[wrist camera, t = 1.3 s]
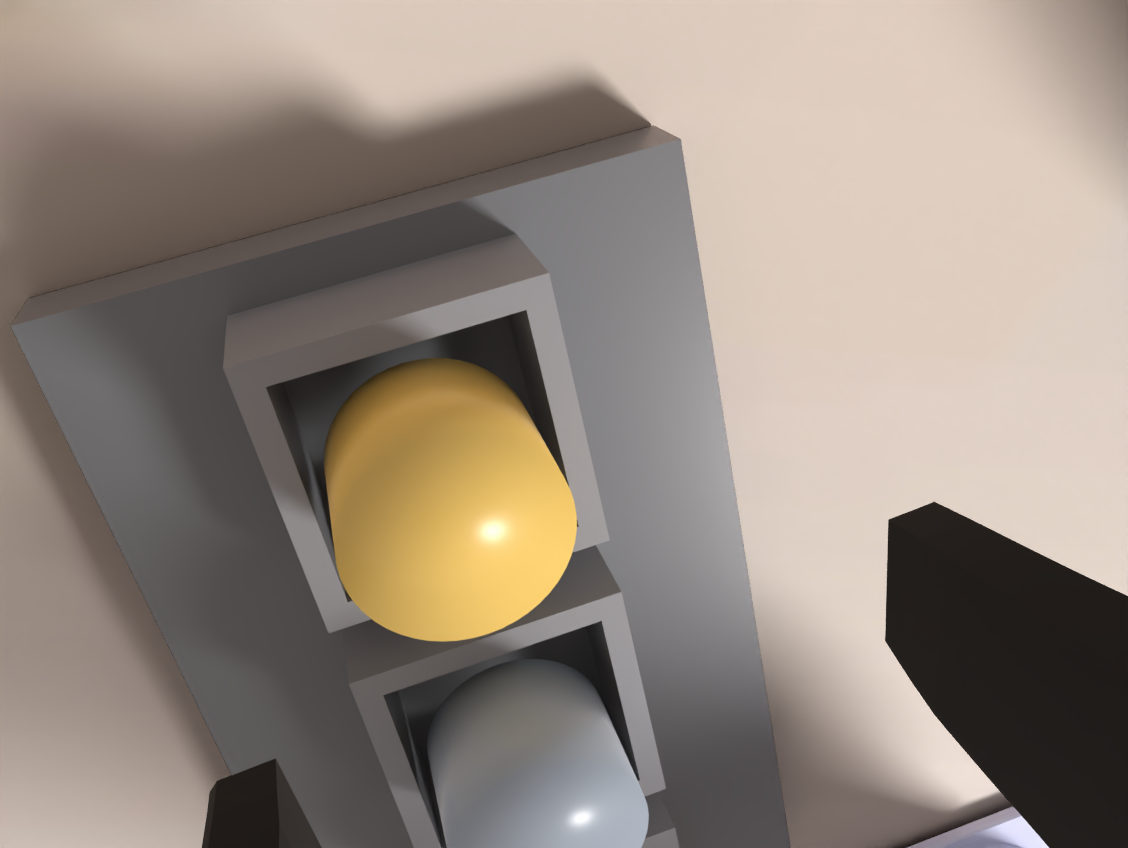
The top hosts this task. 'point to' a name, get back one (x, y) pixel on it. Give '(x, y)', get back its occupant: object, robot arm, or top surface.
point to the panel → (300, 501)
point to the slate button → (532, 763)
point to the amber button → (444, 502)
